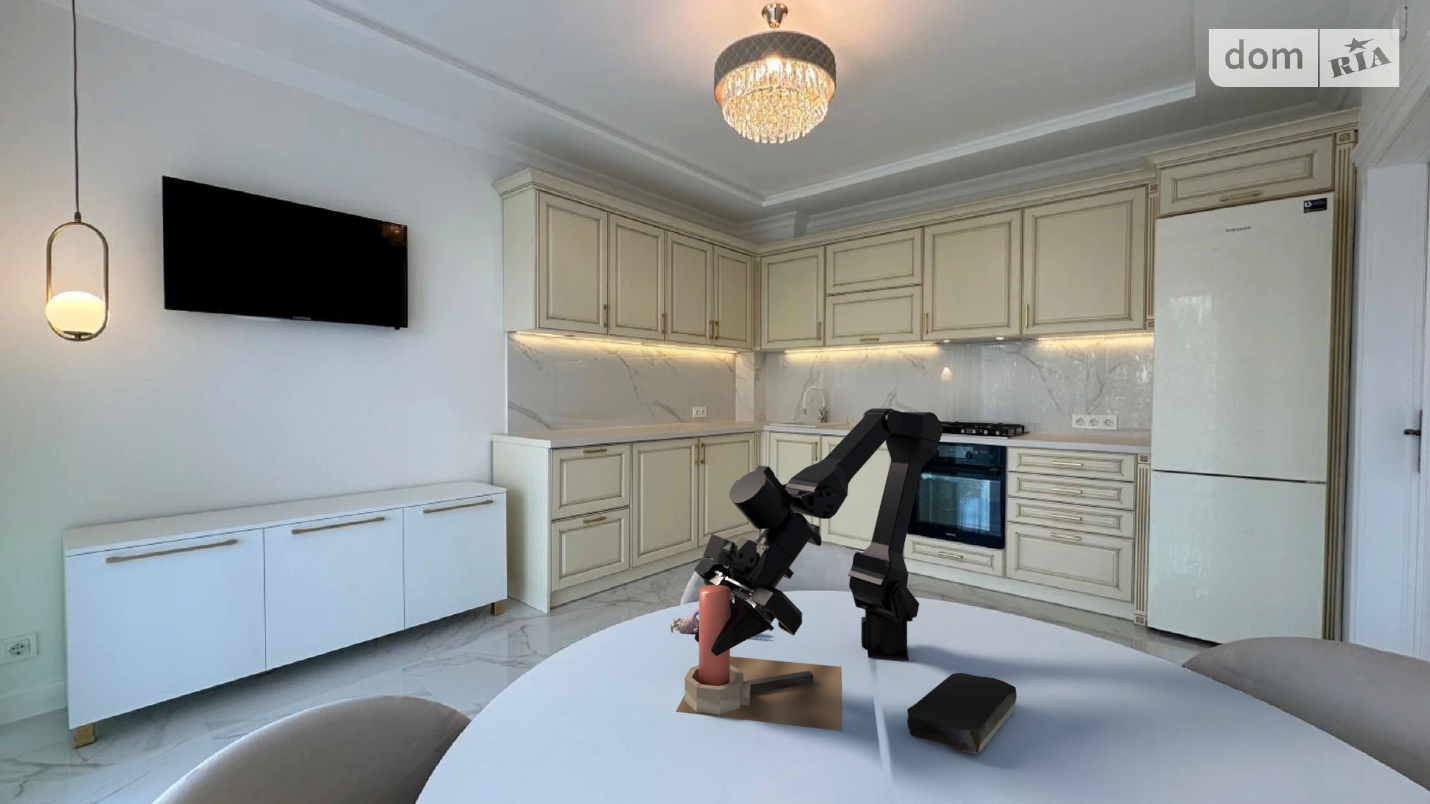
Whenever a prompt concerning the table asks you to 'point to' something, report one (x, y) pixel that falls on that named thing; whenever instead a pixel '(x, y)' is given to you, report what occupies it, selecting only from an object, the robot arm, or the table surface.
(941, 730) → the black sponge
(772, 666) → the walnut board
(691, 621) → the rabbit figure
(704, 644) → the red plug
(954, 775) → the table surface
